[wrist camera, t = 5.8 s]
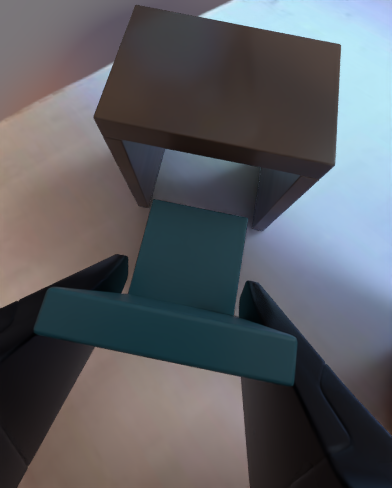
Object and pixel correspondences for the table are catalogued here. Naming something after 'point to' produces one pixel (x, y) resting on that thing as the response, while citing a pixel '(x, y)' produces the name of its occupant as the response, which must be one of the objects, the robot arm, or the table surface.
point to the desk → (222, 103)
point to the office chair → (177, 302)
